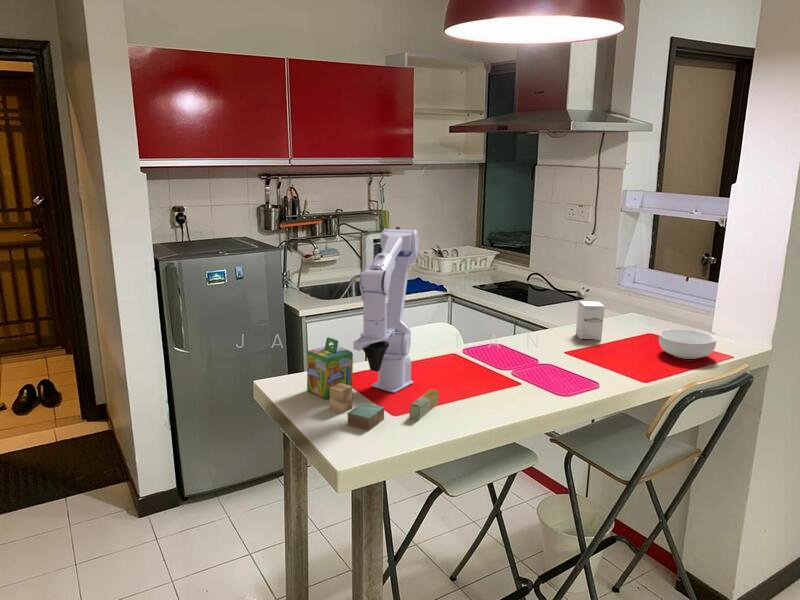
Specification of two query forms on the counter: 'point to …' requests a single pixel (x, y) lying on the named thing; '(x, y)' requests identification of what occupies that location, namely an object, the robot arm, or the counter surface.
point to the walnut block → (366, 416)
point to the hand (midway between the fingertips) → (375, 370)
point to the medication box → (423, 404)
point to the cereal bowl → (687, 343)
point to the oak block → (340, 398)
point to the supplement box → (590, 320)
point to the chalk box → (328, 368)
